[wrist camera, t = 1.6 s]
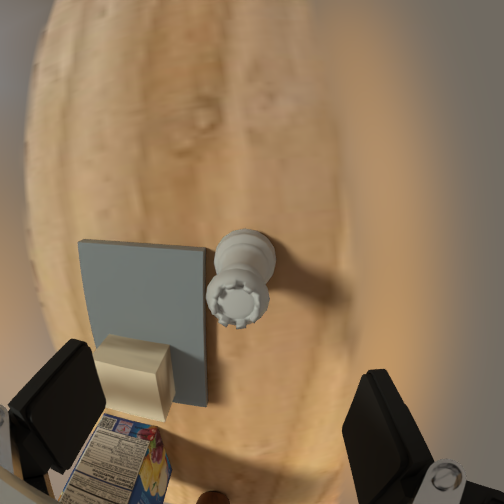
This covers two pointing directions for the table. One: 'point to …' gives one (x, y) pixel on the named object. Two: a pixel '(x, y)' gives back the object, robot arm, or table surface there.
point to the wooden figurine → (213, 498)
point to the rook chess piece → (241, 278)
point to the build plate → (151, 303)
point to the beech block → (136, 376)
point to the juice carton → (120, 466)
